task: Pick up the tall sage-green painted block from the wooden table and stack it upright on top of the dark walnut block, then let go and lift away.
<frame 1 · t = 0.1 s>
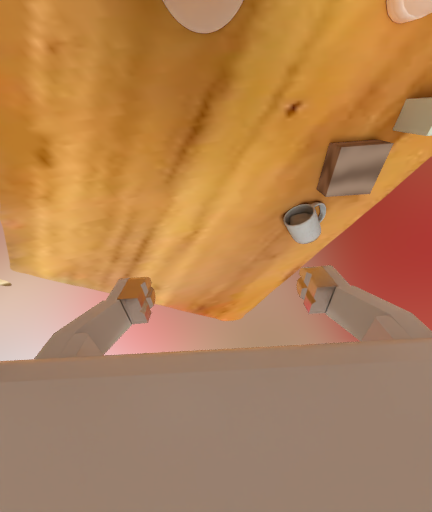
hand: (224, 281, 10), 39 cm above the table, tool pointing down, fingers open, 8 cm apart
walnut block: (343, 166, 44), on the table
ceramic mug: (301, 214, 51), on the table
sage block: (411, 114, 37), on the table
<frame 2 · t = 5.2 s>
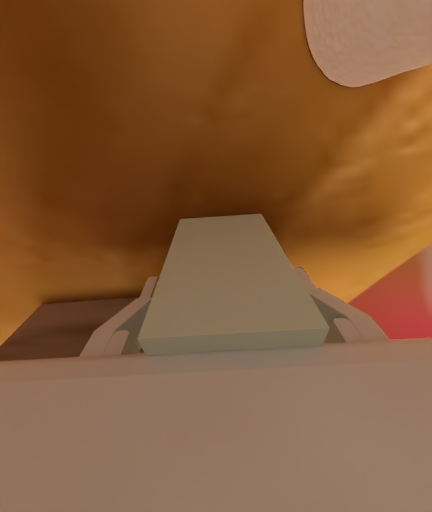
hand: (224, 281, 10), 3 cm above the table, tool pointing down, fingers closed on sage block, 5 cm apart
walnut block: (124, 333, 18), on the table
sage block: (222, 250, 13), on the table, touching gripper
when the fingers open (10 cm above the table, at t = 13.6 s): sage block drops 2 cm, point 5 cm above the table.
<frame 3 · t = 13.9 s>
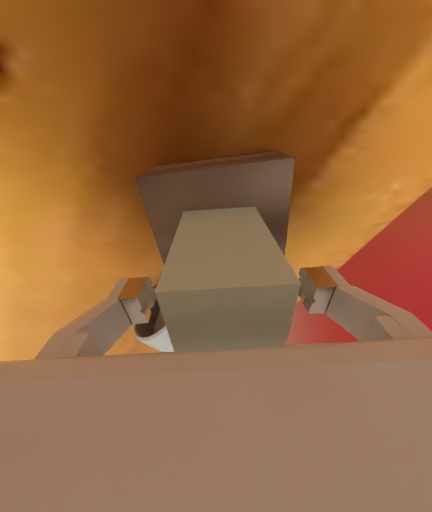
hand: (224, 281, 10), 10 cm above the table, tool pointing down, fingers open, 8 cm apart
walnut block: (219, 214, 19), on the table
ceramic mug: (194, 289, 24), on the table
sage block: (220, 240, 14), point 5 cm above the table
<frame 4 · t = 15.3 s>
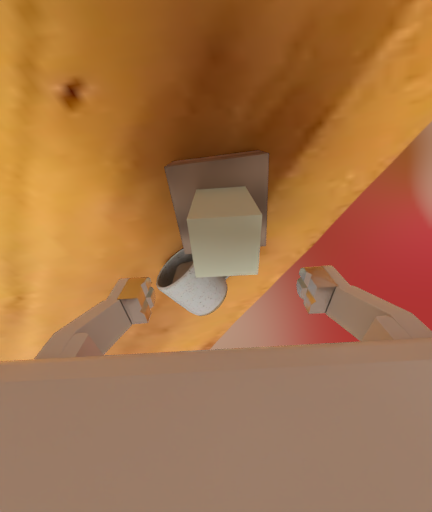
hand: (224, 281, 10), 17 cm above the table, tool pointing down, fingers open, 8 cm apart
walnut block: (219, 198, 25), on the table
ceramic mug: (202, 261, 30), on the table
sage block: (221, 211, 20), point 5 cm above the table
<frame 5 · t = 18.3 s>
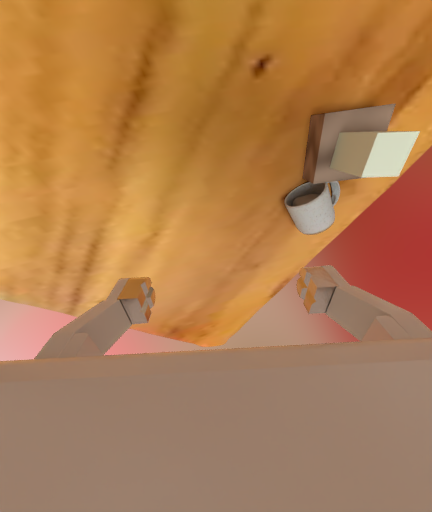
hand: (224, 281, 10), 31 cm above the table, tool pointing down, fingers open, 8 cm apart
walnut block: (333, 145, 34), on the table, touching sage block
ceramic mug: (308, 198, 40), on the table
sage block: (349, 150, 30), point 5 cm above the table, touching walnut block
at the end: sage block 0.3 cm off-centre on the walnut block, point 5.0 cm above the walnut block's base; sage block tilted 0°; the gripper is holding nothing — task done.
